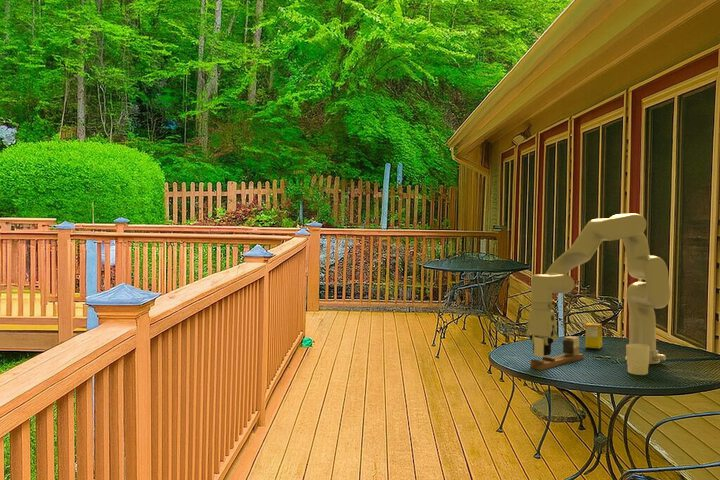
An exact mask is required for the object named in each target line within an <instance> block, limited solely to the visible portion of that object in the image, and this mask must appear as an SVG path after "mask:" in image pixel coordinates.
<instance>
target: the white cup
mask: <svg viewBox="0 0 720 480" xmlns="http://www.w3.org/2000/svg"><path fill="white" fill-rule="evenodd" d="M625 350H626V351H625V353H626V355H625V357H626V356H627V361H626V365H627V373H629V374H630V375H636V376H638V375H639V376H645V375H649V374H648V373H649V365H650V364H649V350H650V347H649V346H648V345H643V344H629V343H627V344H626V345H625Z"/></svg>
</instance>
